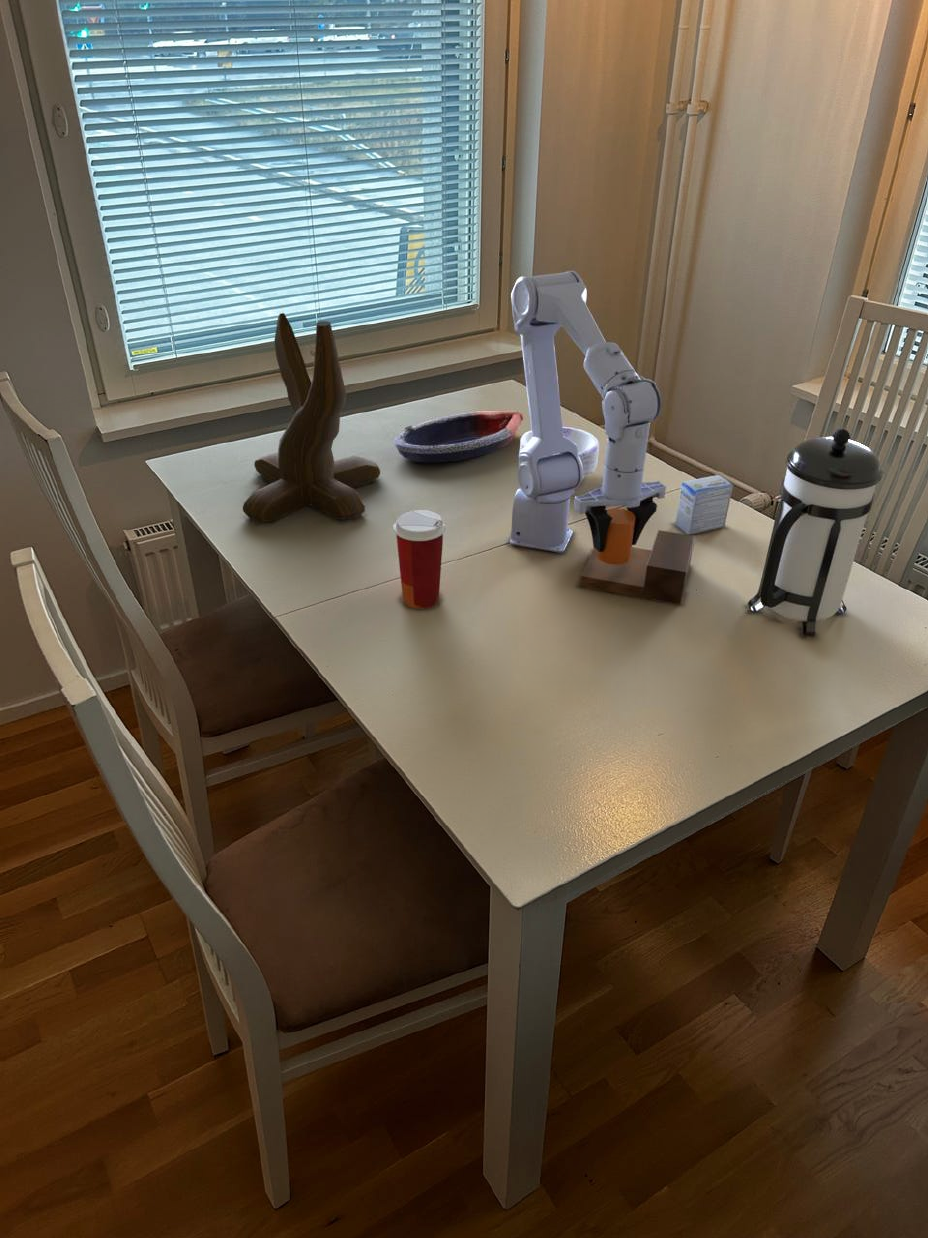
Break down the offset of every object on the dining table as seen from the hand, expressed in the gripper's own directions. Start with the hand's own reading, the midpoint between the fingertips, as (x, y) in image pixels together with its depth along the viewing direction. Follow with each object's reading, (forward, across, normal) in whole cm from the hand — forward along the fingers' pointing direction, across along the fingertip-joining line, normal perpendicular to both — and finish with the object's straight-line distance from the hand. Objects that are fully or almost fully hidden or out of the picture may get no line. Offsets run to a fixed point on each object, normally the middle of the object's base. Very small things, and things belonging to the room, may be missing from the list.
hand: (614, 545), depth 141 cm
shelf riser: (+9, +7, +3) cm, 12 cm away
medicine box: (+9, +27, +14) cm, 31 cm away
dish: (+9, 0, +60) cm, 61 cm away
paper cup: (+9, -28, +10) cm, 31 cm away
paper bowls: (+9, +12, +41) cm, 43 cm away
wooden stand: (+9, -35, +52) cm, 63 cm away
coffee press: (+9, +24, -16) cm, 30 cm away
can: (+2, 0, 0) cm, 2 cm away
